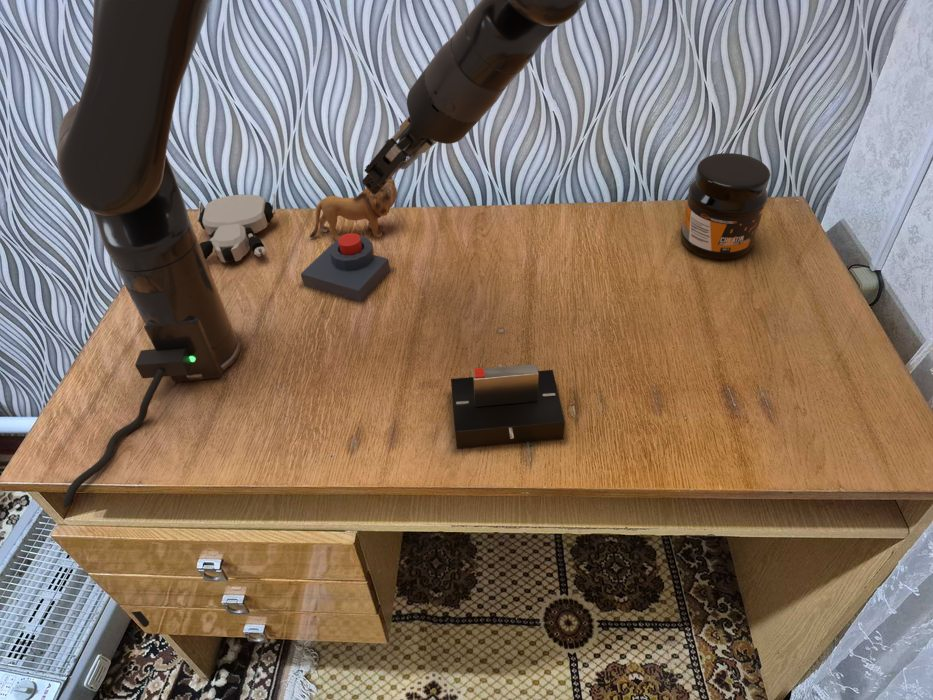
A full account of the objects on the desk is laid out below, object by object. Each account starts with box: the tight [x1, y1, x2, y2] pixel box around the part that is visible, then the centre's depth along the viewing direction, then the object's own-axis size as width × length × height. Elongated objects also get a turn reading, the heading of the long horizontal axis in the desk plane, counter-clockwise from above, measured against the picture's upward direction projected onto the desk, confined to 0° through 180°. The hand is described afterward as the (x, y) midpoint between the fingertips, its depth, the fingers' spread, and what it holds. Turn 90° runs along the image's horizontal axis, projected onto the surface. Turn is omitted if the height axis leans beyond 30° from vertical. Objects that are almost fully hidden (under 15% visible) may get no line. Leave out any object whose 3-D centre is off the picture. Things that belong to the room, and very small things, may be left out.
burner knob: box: [472, 363, 539, 407], centre depth 73 cm, size 7×2×5 cm, turn 94°
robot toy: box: [196, 192, 277, 264], centre depth 104 cm, size 12×4×15 cm
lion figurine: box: [308, 178, 398, 241], centre depth 102 cm, size 15×5×9 cm, turn 103°
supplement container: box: [680, 152, 771, 260], centre depth 95 cm, size 10×10×12 cm
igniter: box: [300, 235, 391, 303], centre depth 96 cm, size 10×9×4 cm
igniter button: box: [338, 232, 362, 256], centre depth 95 cm, size 3×3×2 cm
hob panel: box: [450, 363, 566, 450], centre depth 75 cm, size 12×11×3 cm
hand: (389, 170), depth 81 cm, fingers open, 8 cm apart
